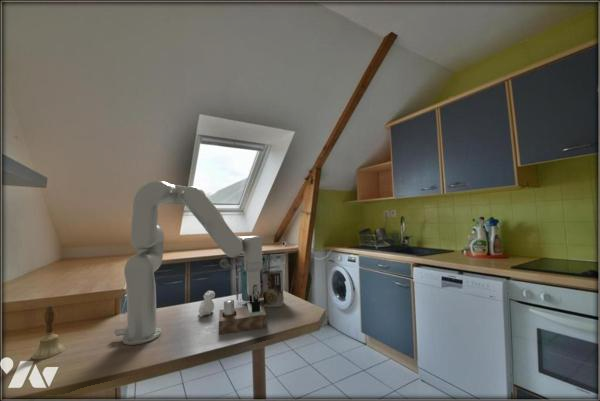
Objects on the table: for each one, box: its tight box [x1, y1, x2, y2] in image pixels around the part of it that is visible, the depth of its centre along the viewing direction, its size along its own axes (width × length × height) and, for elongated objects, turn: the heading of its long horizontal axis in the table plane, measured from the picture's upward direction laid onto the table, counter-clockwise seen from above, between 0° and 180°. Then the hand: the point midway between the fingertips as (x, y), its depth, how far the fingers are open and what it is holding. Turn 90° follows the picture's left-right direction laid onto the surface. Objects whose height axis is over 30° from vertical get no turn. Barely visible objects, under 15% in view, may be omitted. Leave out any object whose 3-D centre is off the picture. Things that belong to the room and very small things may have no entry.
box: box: [219, 251, 272, 305], centre depth 133 cm, size 25×6×24 cm, turn 115°
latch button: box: [246, 302, 262, 317], centre depth 109 cm, size 5×12×6 cm, turn 15°
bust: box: [198, 290, 216, 318], centre depth 121 cm, size 12×8×11 cm
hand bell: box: [31, 305, 66, 361], centre depth 91 cm, size 8×8×16 cm
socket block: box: [218, 304, 267, 335], centre depth 108 cm, size 18×12×5 cm, turn 105°
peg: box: [223, 299, 235, 317], centre depth 107 cm, size 4×4×10 cm
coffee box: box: [262, 269, 285, 308], centre depth 130 cm, size 9×6×16 cm
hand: (254, 307), depth 109 cm, fingers open, 9 cm apart
